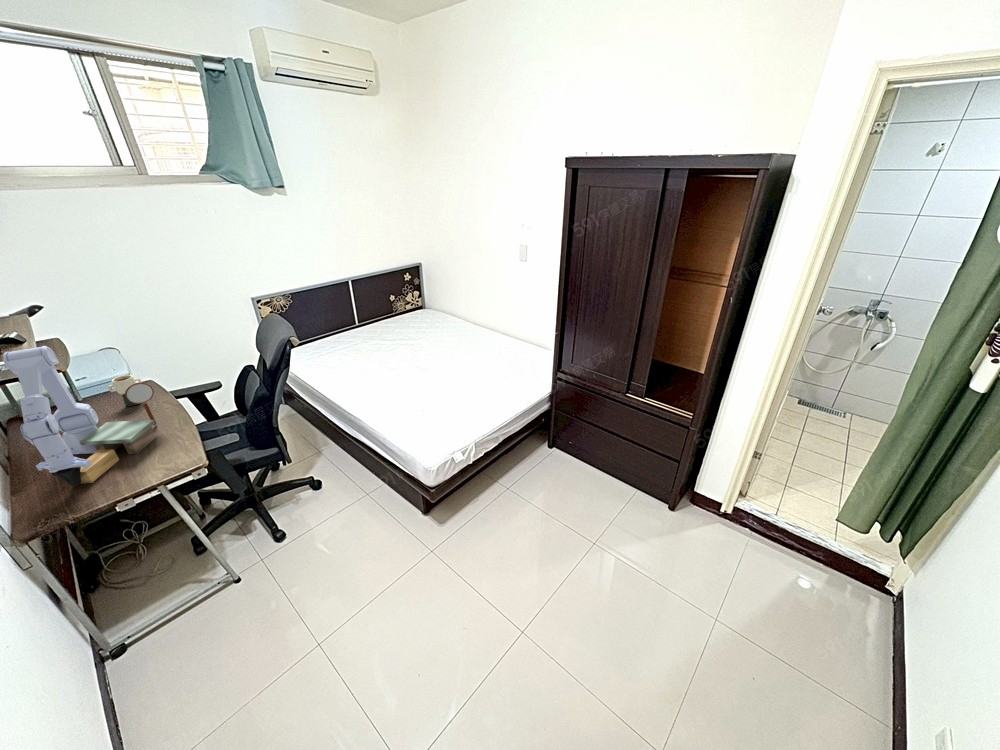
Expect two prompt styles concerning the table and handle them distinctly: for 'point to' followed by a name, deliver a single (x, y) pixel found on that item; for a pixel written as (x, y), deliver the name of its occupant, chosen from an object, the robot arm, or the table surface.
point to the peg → (98, 465)
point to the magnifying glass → (140, 396)
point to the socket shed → (122, 436)
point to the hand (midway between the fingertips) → (76, 484)
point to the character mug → (123, 386)
